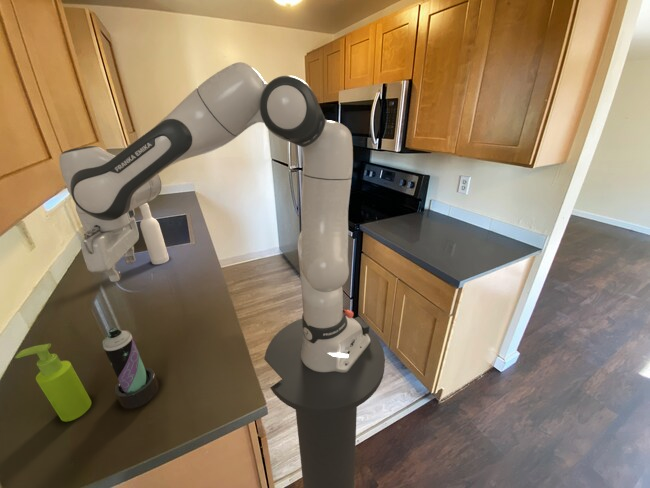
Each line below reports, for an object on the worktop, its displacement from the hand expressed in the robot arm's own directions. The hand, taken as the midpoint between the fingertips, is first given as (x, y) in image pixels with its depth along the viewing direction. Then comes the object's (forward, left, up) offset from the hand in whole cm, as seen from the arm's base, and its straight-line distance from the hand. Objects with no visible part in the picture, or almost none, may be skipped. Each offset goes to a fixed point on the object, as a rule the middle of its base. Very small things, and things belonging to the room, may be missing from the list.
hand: (124, 270), depth 70 cm
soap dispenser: (+19, +5, -29) cm, 35 cm away
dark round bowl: (+6, +11, -29) cm, 32 cm away
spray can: (+6, +11, -28) cm, 31 cm away
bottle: (-18, -69, -29) cm, 77 cm away
